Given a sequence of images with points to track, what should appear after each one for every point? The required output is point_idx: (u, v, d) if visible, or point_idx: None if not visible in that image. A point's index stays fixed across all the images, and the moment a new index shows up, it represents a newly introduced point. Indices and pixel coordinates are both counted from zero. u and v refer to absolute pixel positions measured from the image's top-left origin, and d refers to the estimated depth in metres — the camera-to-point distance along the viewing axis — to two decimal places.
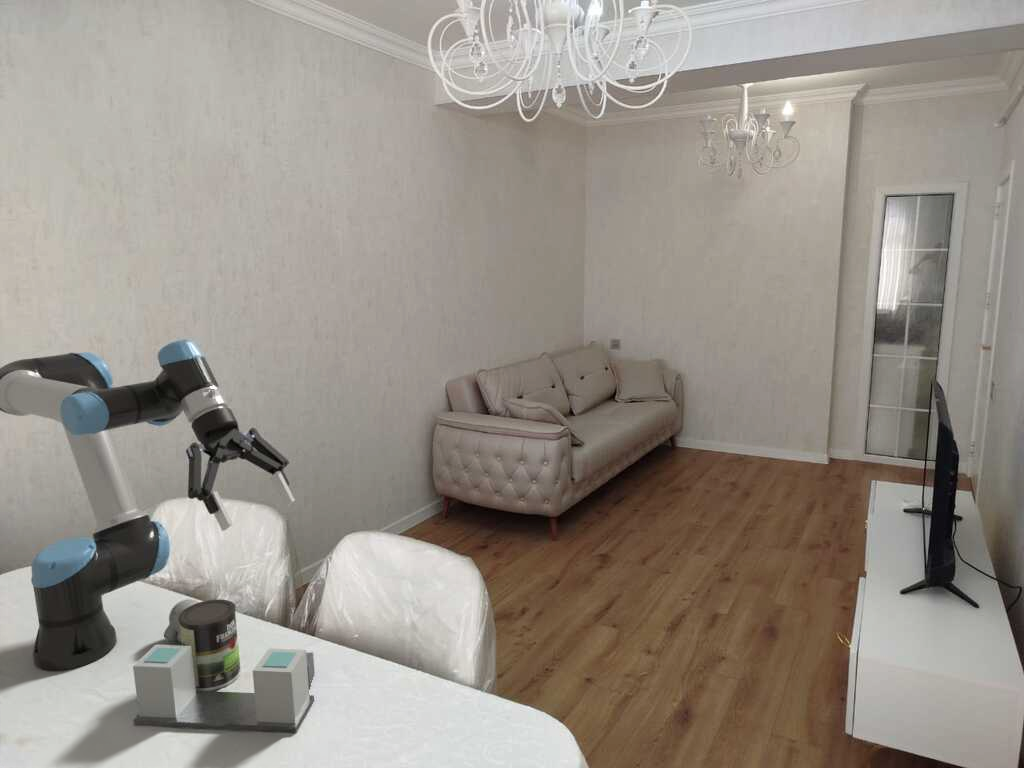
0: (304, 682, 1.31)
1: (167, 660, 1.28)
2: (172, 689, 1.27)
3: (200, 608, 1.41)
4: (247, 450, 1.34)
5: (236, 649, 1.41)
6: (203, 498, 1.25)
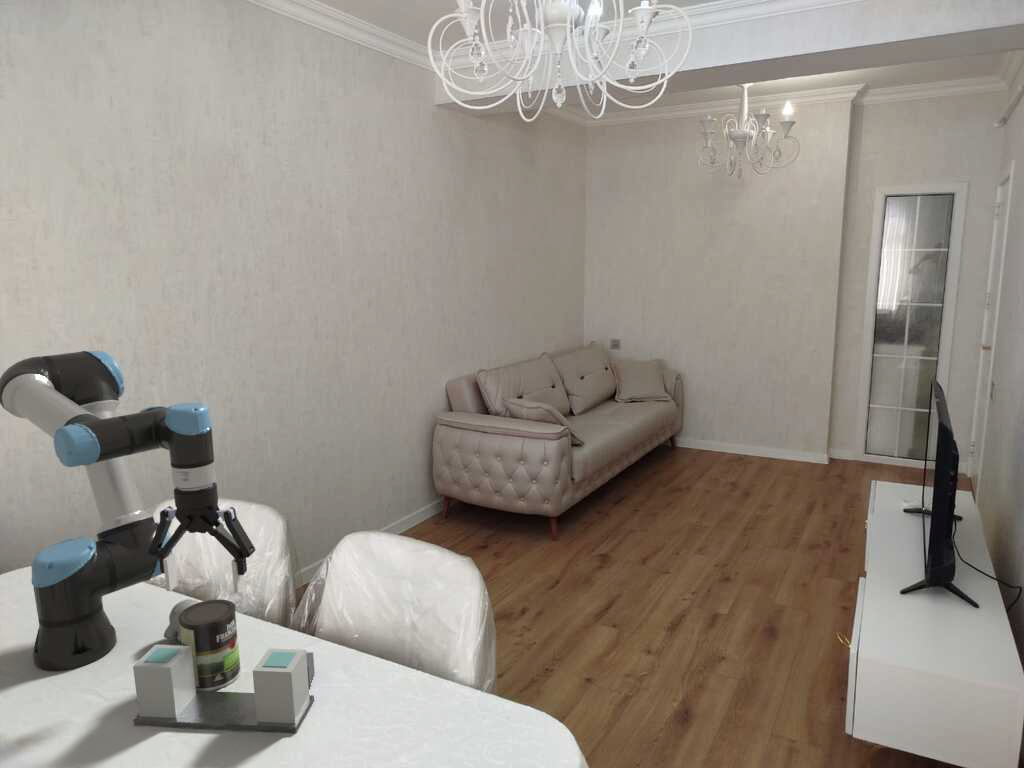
0: (304, 682, 1.31)
1: (167, 660, 1.28)
2: (172, 689, 1.27)
3: (200, 608, 1.41)
4: None
5: (236, 649, 1.41)
6: None
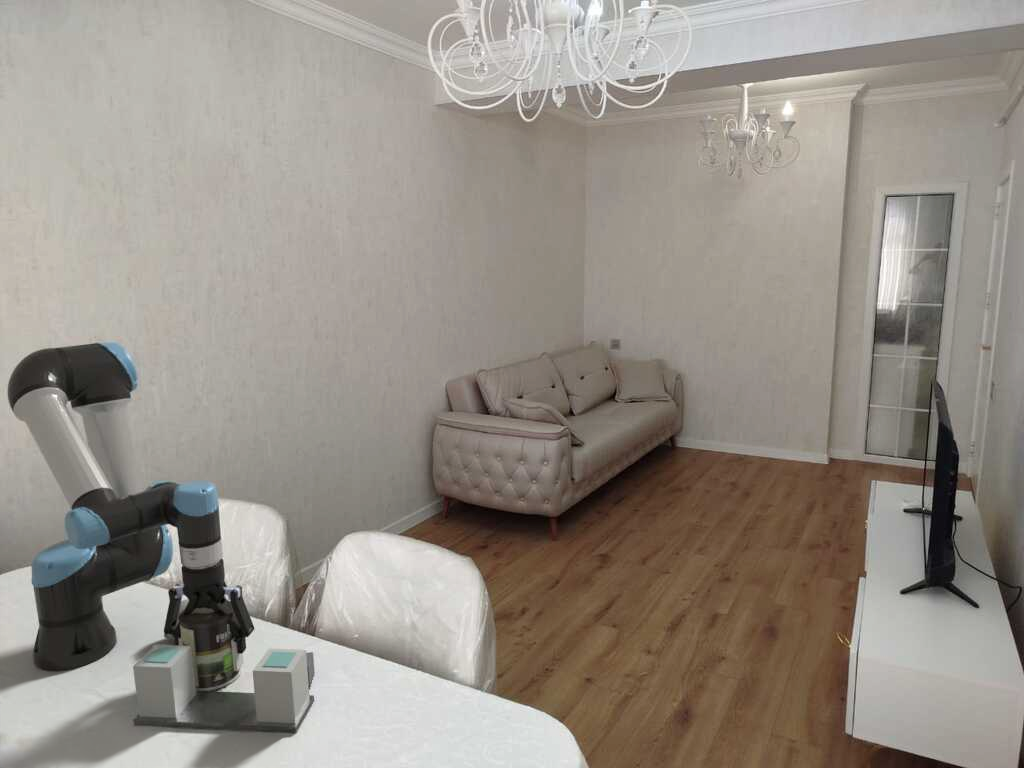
0: (304, 682, 1.31)
1: (167, 660, 1.28)
2: (172, 689, 1.27)
3: (200, 608, 1.41)
4: None
5: None
6: None
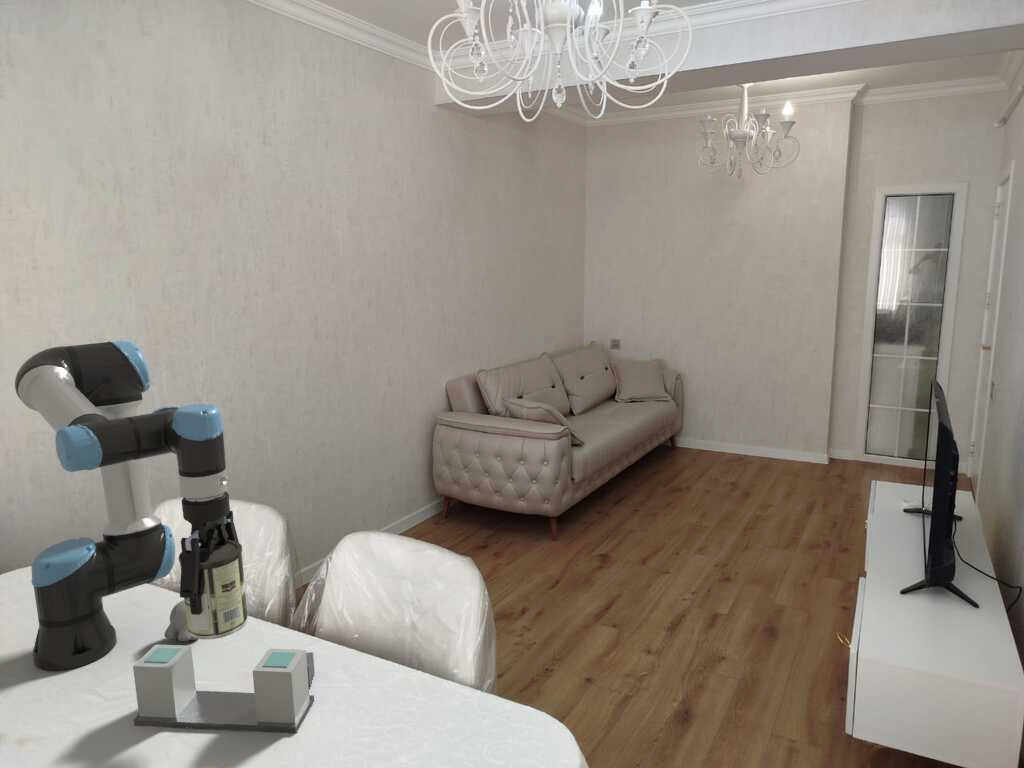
0: (304, 682, 1.31)
1: (167, 660, 1.28)
2: (172, 689, 1.27)
3: None
4: (224, 539, 1.27)
5: None
6: (192, 598, 1.19)
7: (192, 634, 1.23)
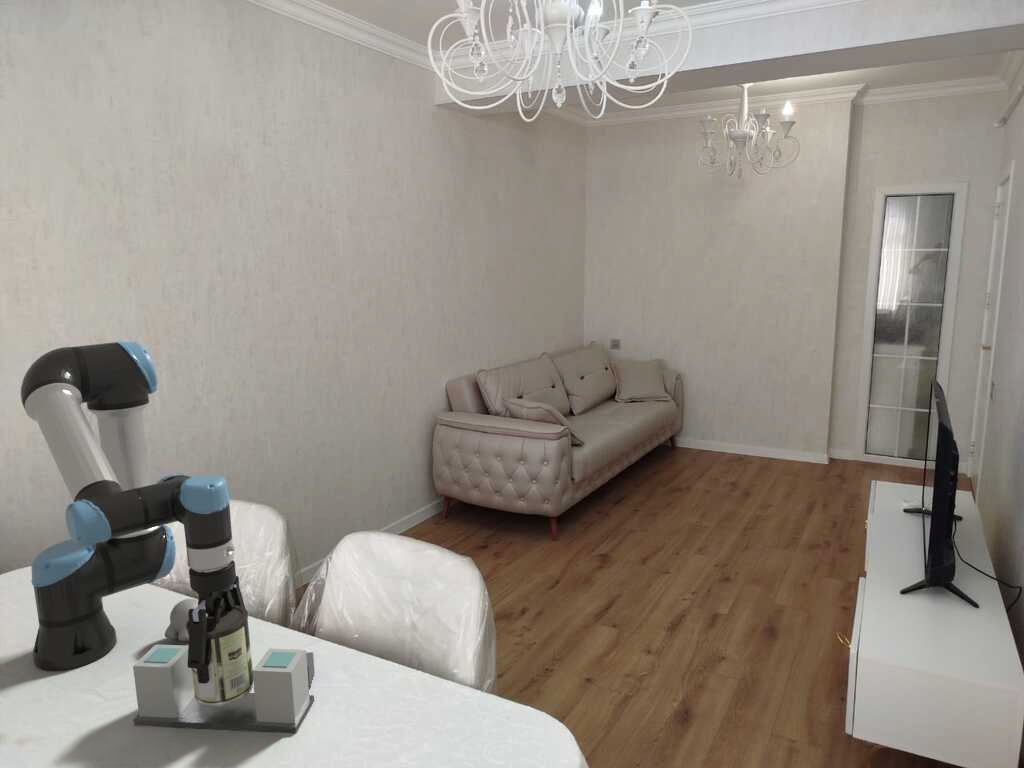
0: (304, 682, 1.31)
1: (167, 660, 1.28)
2: (172, 689, 1.27)
3: None
4: (230, 606, 1.29)
5: None
6: (199, 668, 1.22)
7: (199, 701, 1.26)
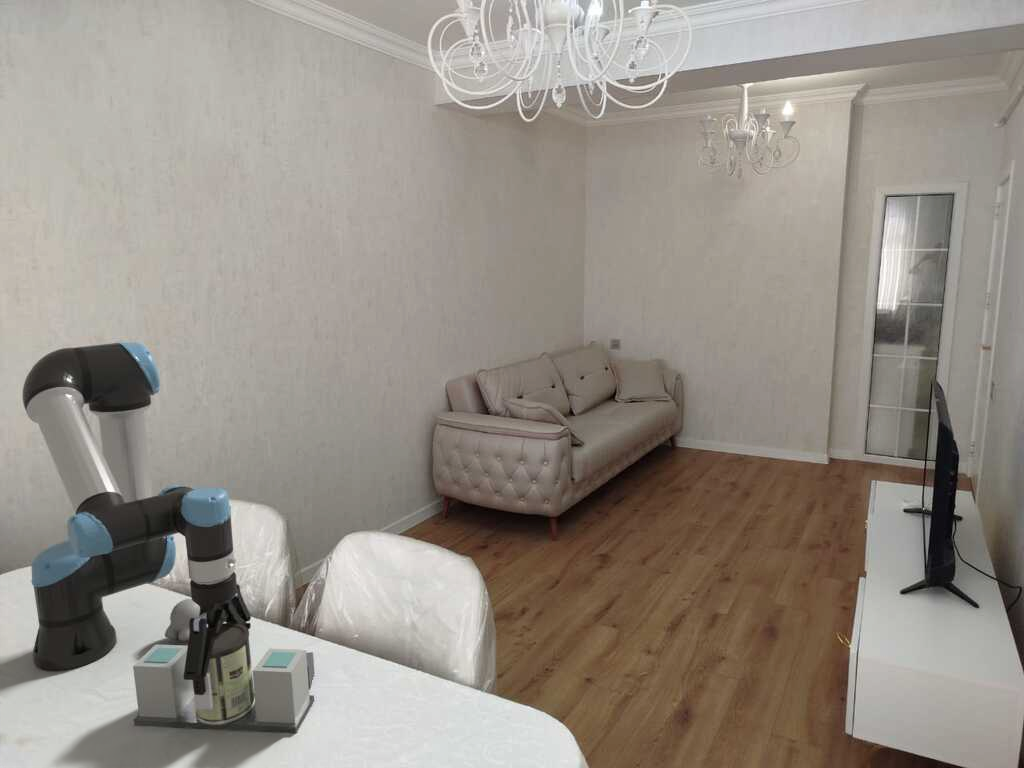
0: (304, 682, 1.31)
1: (167, 660, 1.28)
2: (172, 689, 1.27)
3: None
4: (232, 615, 1.30)
5: None
6: (195, 679, 1.21)
7: (201, 719, 1.27)
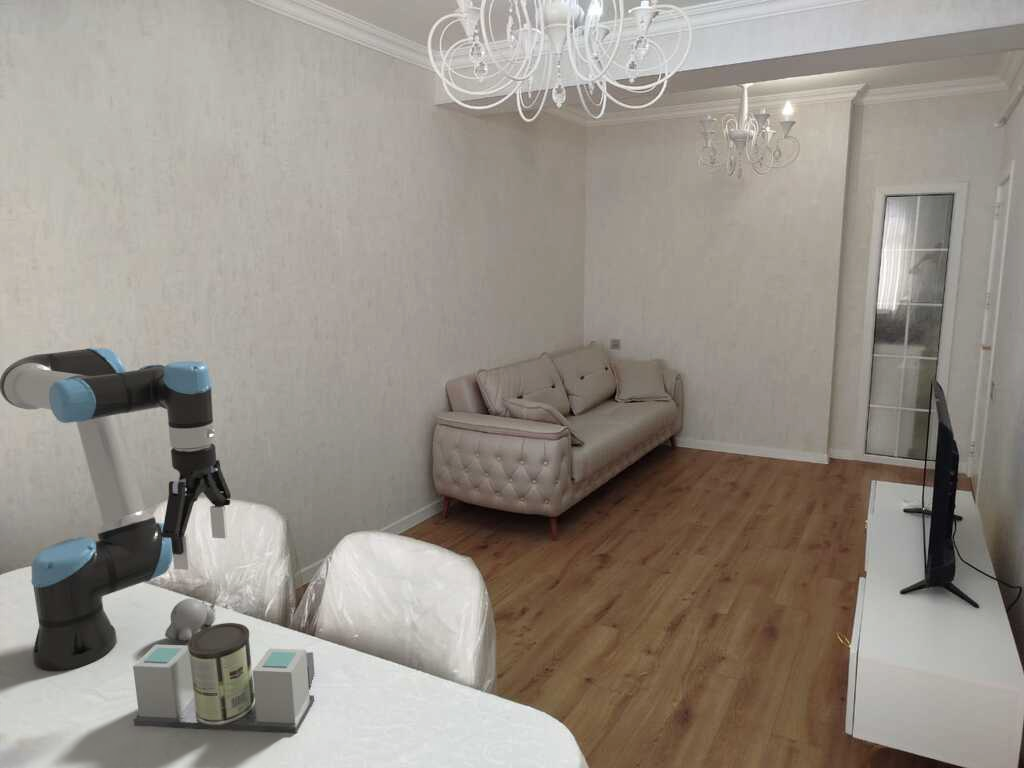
0: (304, 682, 1.31)
1: (167, 660, 1.28)
2: (172, 689, 1.27)
3: (205, 644, 1.26)
4: (211, 487, 1.36)
5: None
6: (173, 539, 1.27)
7: (201, 719, 1.27)
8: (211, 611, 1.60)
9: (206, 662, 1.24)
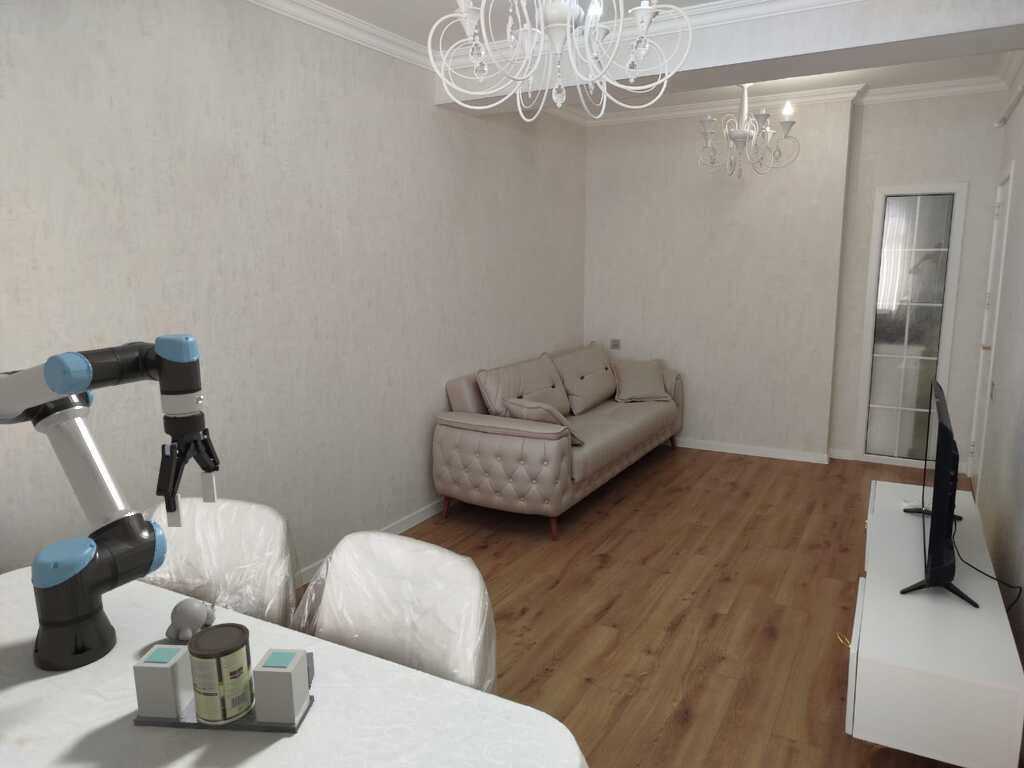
0: (304, 682, 1.31)
1: (167, 660, 1.28)
2: (172, 689, 1.27)
3: (205, 644, 1.26)
4: (201, 452, 1.46)
5: None
6: (167, 497, 1.37)
7: (201, 719, 1.27)
8: (211, 611, 1.60)
9: (206, 662, 1.24)
